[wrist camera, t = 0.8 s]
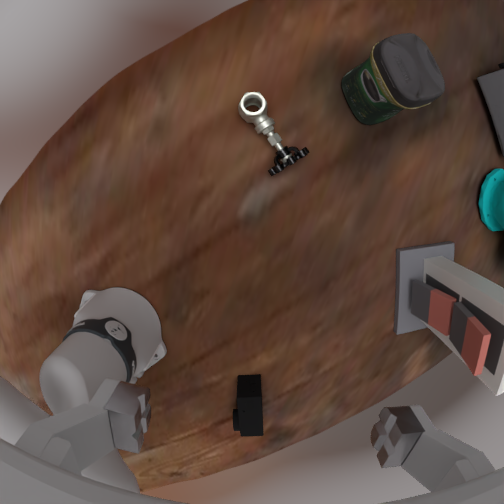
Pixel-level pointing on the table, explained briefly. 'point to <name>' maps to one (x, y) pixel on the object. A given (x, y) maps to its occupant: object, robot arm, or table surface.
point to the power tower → (460, 287)
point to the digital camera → (248, 406)
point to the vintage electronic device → (495, 99)
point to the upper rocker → (469, 338)
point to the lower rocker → (432, 306)
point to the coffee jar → (393, 79)
